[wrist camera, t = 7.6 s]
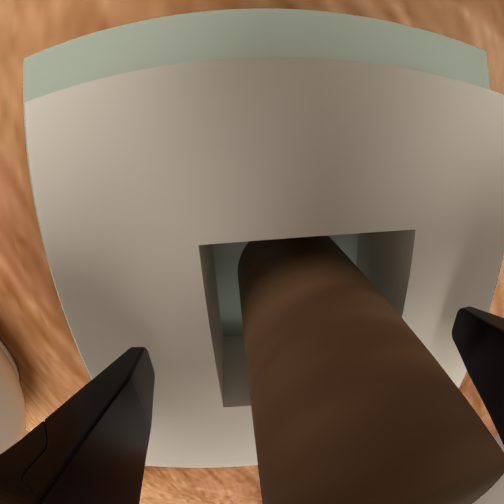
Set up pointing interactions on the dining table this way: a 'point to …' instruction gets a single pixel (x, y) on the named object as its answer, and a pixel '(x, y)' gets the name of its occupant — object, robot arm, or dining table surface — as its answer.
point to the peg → (349, 389)
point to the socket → (256, 189)
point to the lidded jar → (10, 402)
